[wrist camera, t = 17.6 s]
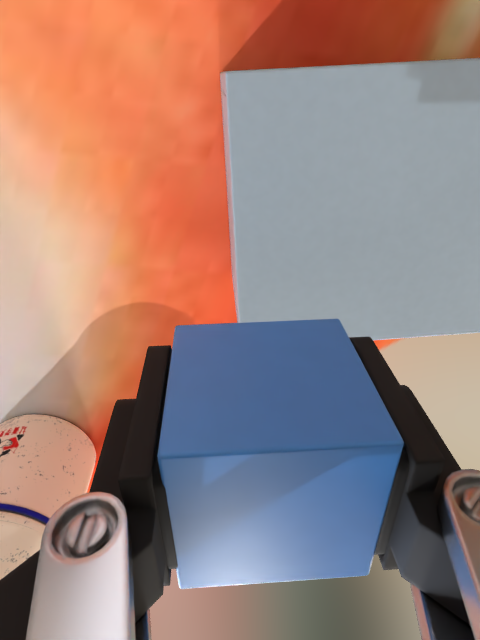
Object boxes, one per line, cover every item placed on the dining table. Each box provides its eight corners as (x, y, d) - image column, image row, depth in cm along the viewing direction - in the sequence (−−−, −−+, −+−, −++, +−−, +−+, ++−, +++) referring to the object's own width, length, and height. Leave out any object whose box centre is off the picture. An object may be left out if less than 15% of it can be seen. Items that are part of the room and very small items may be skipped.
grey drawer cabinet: (471, 58, 22) (613, 50, 14) (430, 259, 28) (515, 330, 20) (219, 72, 22) (225, 71, 14) (231, 273, 28) (240, 350, 20)
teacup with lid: (17, 391, 32) (-72, 537, 22) (120, 441, 35) (84, 587, 25) (-45, 476, 36) (-142, 631, 26) (52, 513, 39) (-1, 662, 29)
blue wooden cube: (174, 324, 10) (156, 456, 6) (340, 317, 10) (406, 442, 7) (188, 442, 12) (178, 590, 9) (324, 434, 12) (369, 577, 9)
